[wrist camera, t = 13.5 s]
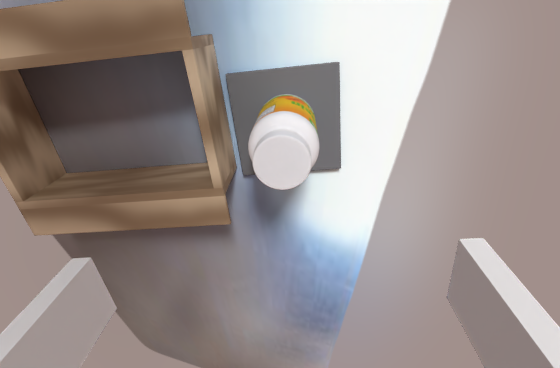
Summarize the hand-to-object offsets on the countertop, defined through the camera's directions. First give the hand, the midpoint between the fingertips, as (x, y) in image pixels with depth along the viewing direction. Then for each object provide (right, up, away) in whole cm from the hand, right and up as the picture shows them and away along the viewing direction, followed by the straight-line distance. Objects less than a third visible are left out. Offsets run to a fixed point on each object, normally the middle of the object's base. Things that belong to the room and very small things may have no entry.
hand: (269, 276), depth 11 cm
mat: (+1, +9, +18) cm, 21 cm away
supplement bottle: (+1, +9, +18) cm, 20 cm away
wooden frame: (-15, +10, +19) cm, 26 cm away
